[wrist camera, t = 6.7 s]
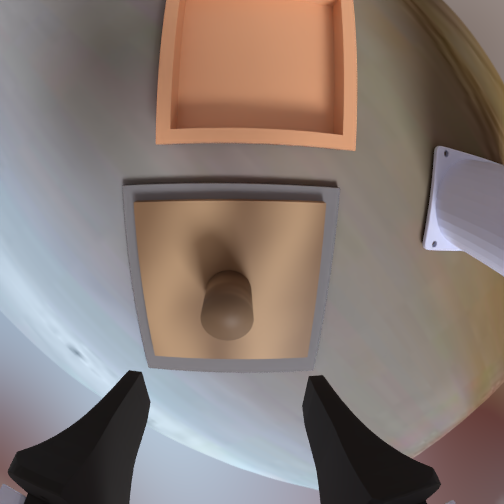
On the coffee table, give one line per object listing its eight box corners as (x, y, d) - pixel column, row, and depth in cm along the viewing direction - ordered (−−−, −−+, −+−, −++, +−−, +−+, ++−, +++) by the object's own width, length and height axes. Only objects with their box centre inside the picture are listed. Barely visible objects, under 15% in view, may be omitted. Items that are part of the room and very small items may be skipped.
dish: (339, 5, 14) (351, -11, 11) (340, 149, 17) (355, 150, 15) (177, -3, 13) (169, -21, 11) (167, 144, 17) (155, 144, 15)
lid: (323, 201, 18) (344, 216, 14) (305, 352, 22) (316, 388, 18) (136, 200, 18) (111, 215, 14) (156, 351, 22) (144, 386, 18)
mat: (338, 187, 18) (340, 188, 18) (312, 367, 23) (313, 370, 23) (124, 184, 18) (122, 185, 17) (149, 364, 23) (148, 367, 22)
